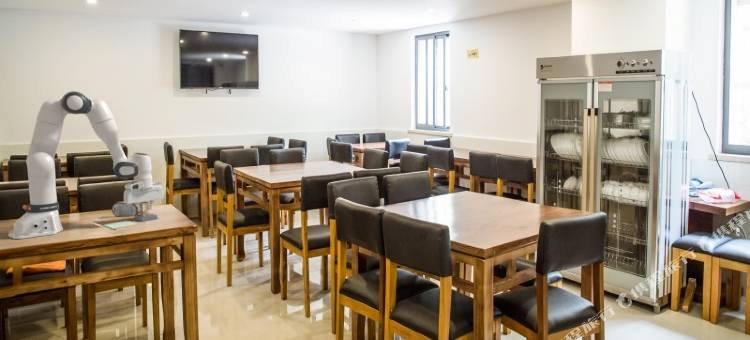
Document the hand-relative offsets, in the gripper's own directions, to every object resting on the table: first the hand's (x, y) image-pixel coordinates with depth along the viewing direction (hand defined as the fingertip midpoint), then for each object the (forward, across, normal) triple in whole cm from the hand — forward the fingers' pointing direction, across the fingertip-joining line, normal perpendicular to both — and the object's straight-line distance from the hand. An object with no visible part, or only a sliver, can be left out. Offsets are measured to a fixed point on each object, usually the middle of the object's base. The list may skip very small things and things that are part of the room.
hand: (145, 210), depth 287 cm
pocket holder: (+6, 0, 0) cm, 6 cm away
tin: (+6, +2, -18) cm, 19 cm away
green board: (+6, +14, +1) cm, 15 cm away
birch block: (+4, 0, 0) cm, 4 cm away
